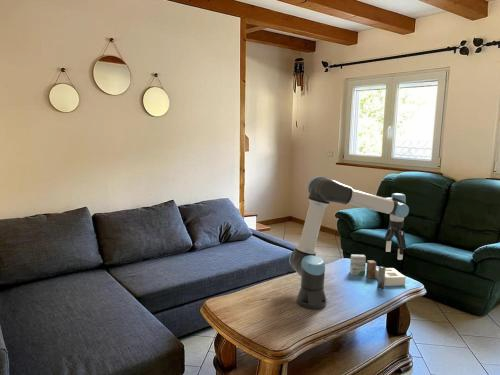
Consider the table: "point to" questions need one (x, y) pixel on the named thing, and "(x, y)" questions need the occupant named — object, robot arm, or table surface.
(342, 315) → the table surface
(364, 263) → the ink box
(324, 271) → the robot arm
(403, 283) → the socket block
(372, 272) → the walnut square bar
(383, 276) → the round peg
